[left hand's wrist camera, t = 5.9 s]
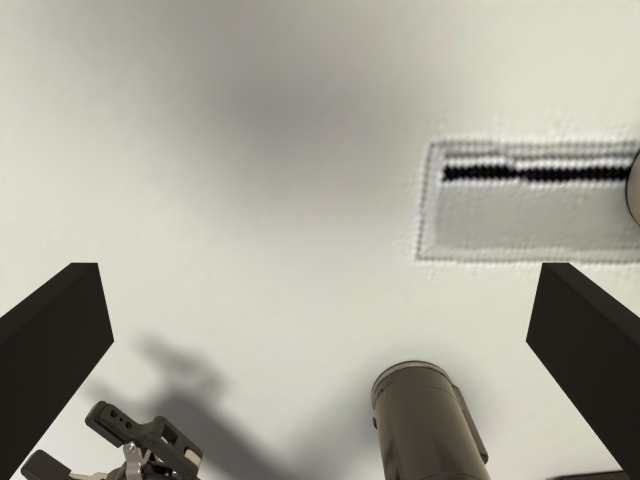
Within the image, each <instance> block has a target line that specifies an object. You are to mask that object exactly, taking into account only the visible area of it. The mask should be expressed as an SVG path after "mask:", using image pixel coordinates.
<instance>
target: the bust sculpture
mask: <svg viewBox="0 0 640 480" xmlns="http://www.w3.org/2000/svg"><path fill="white" fill-rule="evenodd" d="M627 198H628V204H629V208H630V211H631V213H632V215H633V217H634V219H635V220H636V221H637V223H638V224H639V225H640V153H639V155H638V157H637V159H636V160H635V163H634V165H633V167H632V170H631V173H630V176H629V180H628V187H627Z"/></svg>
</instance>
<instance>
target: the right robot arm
mask: <svg viewBox="0 0 640 480" xmlns="http://www.w3.org/2000/svg"><path fill="white" fill-rule="evenodd" d="M372 404H373V409H374V411H375V418H376V420H375V419H374V418H373V422H374V427H375V428H376V429H377V431H378V437H379V443H380V450H381V456H382V462H383V468H384V474H385V480H491V479H490V477H489V474H488V472H487V469H486V467H485V464H486V463H487V462H488V454H487V452H486V449H485V447H484V445H483V442H482V440H481V438H480V436H479V433H478V431H477V429H476V426H475V424H474V422H473V419H472V417H471V415H470V413H469V410H468V408H467V406H466V403H465V401H464V399H463V397H462V394H461V392H460V390H459V388H456V387H454V386H453V385H452V382H451V380H450V378H449V377H448V375H447V374H446V373H445V372H444V371H443V370H441V369H440V368H438V367H436V366H434V365H431V364H428V363H424V362H408V363H403V364H399V365H397V366H394V367H392V368H390V369H389V370H387V371H386V372H384V373H383V374H382V375H381V376H380V377H379V378H378V380H377V381H376V383H375V385H374V387H373V390H372ZM85 423H86V425H87V426H89V427H90V428H91V429H93V430H94V431H95V432H97V433H98V434H99V435H101V436H102V437H104V438H105V439H106V440H108V441H109V442H110V443H112V444H113V445H114V446H116V447H117V448H119V447H120V446H122V445H124V446H123V452H124V455H125V459H126V461H125V462H124V464H123V465H122V466H121V467H120V468H117V469H115V470H113V471H111V472H110V473H109V474H106V473H95V474H94V475H92V476H86V475H79V474H72V473H71V474H70V472H71V471H72V470H70V469H69V468H67V467H66V466H64V465H63V464H62V463H60V462H59V461H57V460H56V459H54V458H53V457H52V456H50V455H49V454H47V453H46V452H44V451H43V450H37V451H36V452H34V453H33V454H32V455H31V456H30V457H29V458H28V460H27V461H26V463H25V464H24V465H23V467H22V468H21V474H22V475H23V476H25V478H26V479H27V480H200V479H199V478H198V477H197V474H198V470H199V467H200V464H201V460H202V457H203V452H202V451H201V450H200V449H199V448H198V447H197V446H196V445H195V444H193V443H192V442H191V441H190V440H189V439H188V438H187V437H186V436H184V435H183V434H182V433H181V432H180V431H179V430H178V429H177V428H175V427H174V426H173V425H172V424H171V423H170V422H169V421H168V420H167V419H165V418H164V417H162V416H157V417H155V418H154V420H153V422H150V423H146V424H145V423H143V422H138V423H136V422H135V421H133V420H132V419H131V418H130V417H128V416H127V415H126V414H124V413H123V412H122V411H120V410H119V409H118V408H117V407H115V406H114V405H111V404H109V403H108V404H107V403H106V402H104V401H100V402H98V403H97V404H96V405H95V406H93V408H92V409H91V411H90V412H89V414H88V415H87V417H86V418H85ZM161 436H163V437H164V438H165V439H166V440H167V442H168V444H167V443H165V442H164V441H163V440H162V439H161ZM158 458H159V459H161V460H162V461H163V462H160V460H159V459H158Z"/></svg>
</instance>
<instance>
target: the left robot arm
mask: <svg viewBox="0 0 640 480" xmlns="http://www.w3.org/2000/svg"><path fill="white" fill-rule="evenodd" d="M113 342H114V338H113V333H112V328H111V324H110V319H109V314H108V310H107V305H106V300H105V296H104V291H103V286H102V282H101V277H100V272H99V268H98V263H70V264H69V265H68V266H67V267H65V268H64V269H63V270H61V271H60V272H59V273H58V274H56V275H55V276H54V277H52V278H51V279H50V280H48V281H47V282H46V283H45V284H43V285H42V286H41V287H39V288H38V289H37V290H36V291H34V292H33V293H32V294H30V295H29V296H28V297H27V298H25V299H24V300H23V301H21V302H20V303H19V304H18V305H16V306H15V307H14V308H12V309H11V310H10V311H9V312H7V313H6V314H5V315H3V316H2V317H1V318H0V480H9V479H10V478H11V477H12V475H13V474H14V473H15V471H16V470H17V469H18V468H19V466H20V465H21V464H22V462H23V461H24V460H25V458H26V457H27V456H28V454H29V453H30V452H31V450H32V449H33V448H34V446H35V445H36V444H37V442H38V441H39V440H40V439H41V437H42V436H43V435H44V433H45V432H46V431H47V429H48V428H49V427H50V425H51V424H52V423H53V421H54V420H55V419H56V417H57V416H58V415H59V413H60V412H61V411H62V409H63V408H64V407H65V406H66V404H67V403H68V402H69V400H70V399H71V398H72V396H73V395H74V394H75V392H76V391H77V390H78V388H79V387H80V386H81V384H82V383H83V382H84V380H85V379H86V378H87V377H88V375H89V374H90V373H91V371H92V370H93V369H94V367H95V366H96V365H97V363H98V362H99V361H100V359H101V358H102V357H103V355H104V354H105V353H106V351H107V350H108V349H109V347H110V346H111V345H112V344H113ZM526 342H527V344H528V345H529V346H530V347H531V349H532V350H533V351H534V353H535V354H536V355H537V357H538V358H539V359H540V361H541V362H542V363H543V365H544V366H545V367H546V369H547V370H548V371H549V373H550V374H551V375H552V377H553V378H554V379H555V380H556V382H557V383H558V384H559V386H560V387H561V388H562V390H563V391H564V392H565V394H566V395H567V396H568V398H569V399H570V400H571V402H572V403H573V404H574V406H575V407H576V408H577V409H578V411H579V412H580V413H581V415H582V416H583V417H584V419H585V420H586V421H587V423H588V424H589V425H590V427H591V428H592V429H593V431H594V432H595V433H596V435H597V436H598V437H599V439H600V440H601V441H602V442H603V444H604V445H605V446H606V448H607V449H608V450H609V452H610V453H611V454H612V456H613V457H614V458H615V460H616V461H617V462H618V464H619V465H620V466H621V468H622V469H623V470H624V471H625V473H626V474H627V475H628V477H629V478H630V479H631V480H640V318H639V317H638V316H637V315H635V314H634V313H633V312H631V311H630V310H629V309H628V308H626V307H625V306H624V305H622V304H621V303H620V302H619V301H617V300H616V299H615V298H613V297H612V296H611V295H610V294H608V293H607V292H606V291H604V290H603V289H602V288H601V287H599V286H598V285H597V284H595V283H594V282H593V281H592V280H590V279H589V278H588V277H586V276H585V275H584V274H582V273H581V272H580V271H579V270H577V269H576V268H575V267H573V266H572V265H571V264H570V263H542V268H541V272H540V277H539V282H538V286H537V291H536V296H535V300H534V305H533V310H532V314H531V319H530V324H529V328H528V333H527V338H526Z"/></svg>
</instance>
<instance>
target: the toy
mask: <svg viewBox="0 0 640 480" xmlns="http://www.w3.org/2000/svg"><path fill="white" fill-rule="evenodd" d="M562 480H631V479H630V478H629V477H628V475H627V474H626V473H625V472H620V473H610V474H601V475H591V476H581V477H571V478H562Z"/></svg>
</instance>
